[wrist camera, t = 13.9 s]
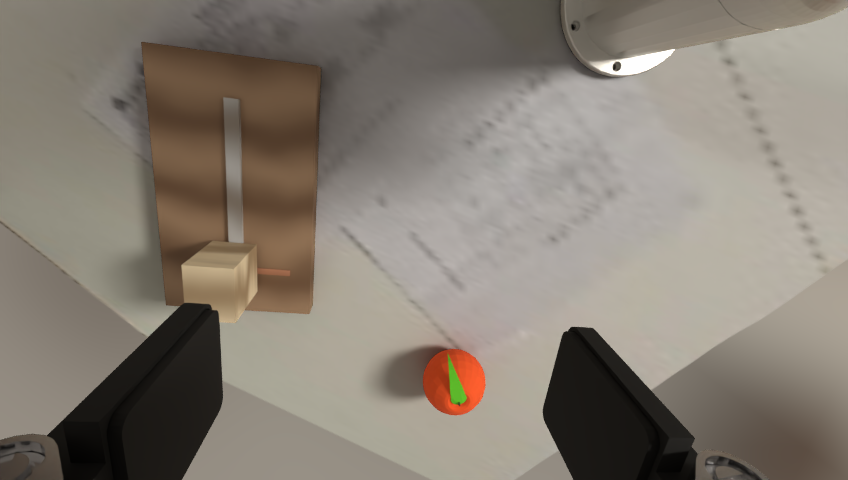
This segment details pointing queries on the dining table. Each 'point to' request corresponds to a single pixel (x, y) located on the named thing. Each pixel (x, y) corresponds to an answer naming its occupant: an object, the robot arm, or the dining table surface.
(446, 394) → the clementine
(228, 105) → the board
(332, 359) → the dining table surface
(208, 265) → the block
